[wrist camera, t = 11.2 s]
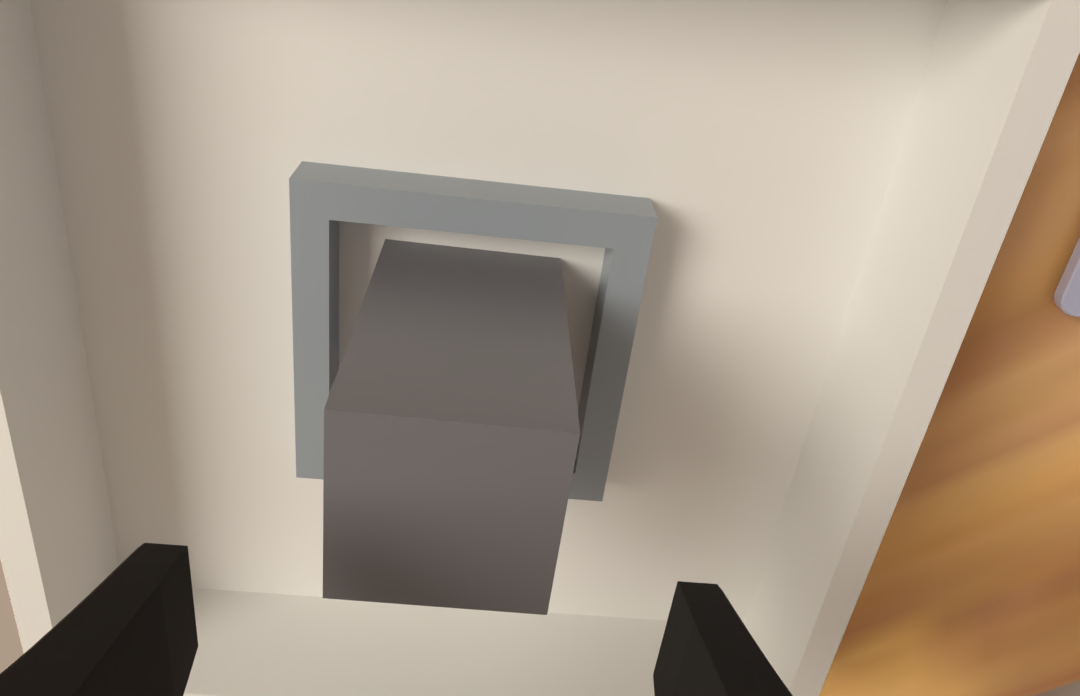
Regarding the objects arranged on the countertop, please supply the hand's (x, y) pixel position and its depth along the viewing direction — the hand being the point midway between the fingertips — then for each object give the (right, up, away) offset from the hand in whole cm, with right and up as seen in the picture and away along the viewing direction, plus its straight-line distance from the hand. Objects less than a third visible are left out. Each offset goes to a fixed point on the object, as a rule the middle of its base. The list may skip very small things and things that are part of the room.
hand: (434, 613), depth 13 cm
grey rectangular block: (0, +4, +8) cm, 9 cm away
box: (0, +5, +8) cm, 9 cm away
